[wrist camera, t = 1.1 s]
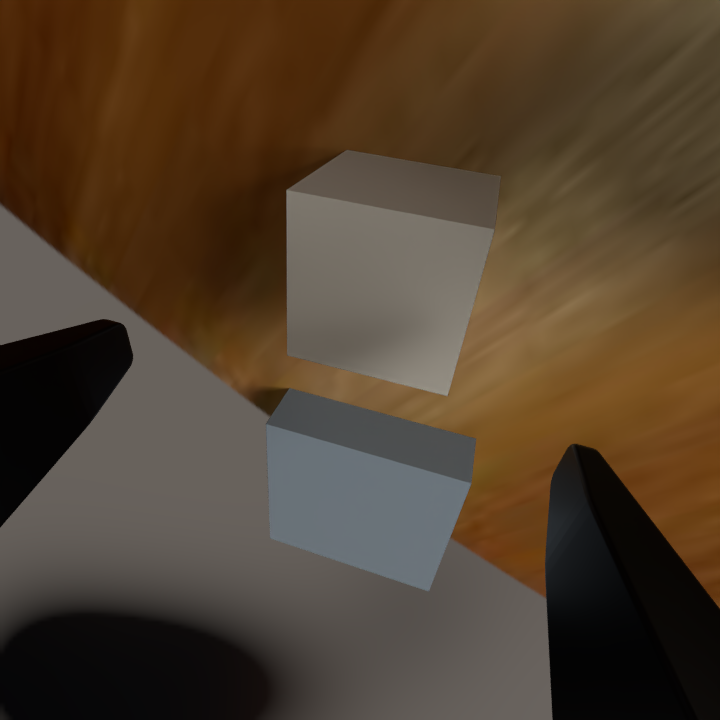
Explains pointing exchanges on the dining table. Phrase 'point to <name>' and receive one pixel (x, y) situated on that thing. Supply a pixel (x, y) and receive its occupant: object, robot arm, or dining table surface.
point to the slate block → (365, 486)
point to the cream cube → (386, 265)
